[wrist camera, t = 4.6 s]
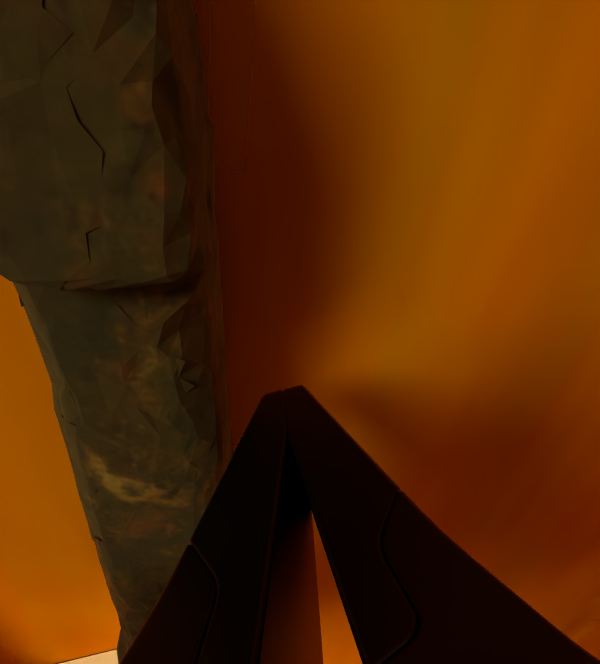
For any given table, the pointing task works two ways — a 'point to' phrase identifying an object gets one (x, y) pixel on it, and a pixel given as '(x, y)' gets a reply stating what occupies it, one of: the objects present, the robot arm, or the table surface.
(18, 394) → the table surface
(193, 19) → the hand tool
